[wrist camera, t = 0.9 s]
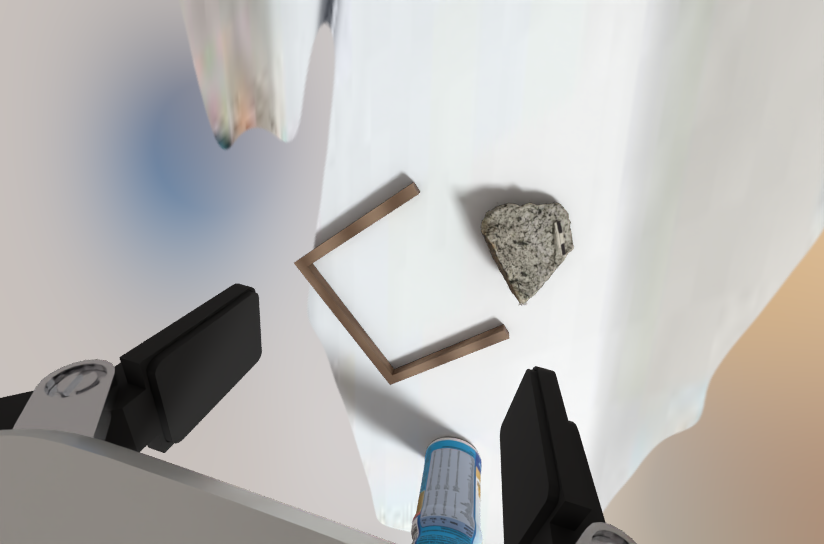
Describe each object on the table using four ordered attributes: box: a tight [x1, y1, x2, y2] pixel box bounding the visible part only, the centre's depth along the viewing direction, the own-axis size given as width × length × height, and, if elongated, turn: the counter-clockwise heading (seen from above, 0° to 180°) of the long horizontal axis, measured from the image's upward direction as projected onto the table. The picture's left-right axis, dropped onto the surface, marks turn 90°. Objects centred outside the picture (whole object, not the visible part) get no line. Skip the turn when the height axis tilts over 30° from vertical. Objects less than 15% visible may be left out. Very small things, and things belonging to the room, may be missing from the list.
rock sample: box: [481, 200, 574, 305], centre depth 31 cm, size 10×8×9 cm
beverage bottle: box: [411, 438, 482, 544], centre depth 39 cm, size 8×8×20 cm
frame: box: [294, 182, 509, 385], centre depth 38 cm, size 17×20×1 cm
